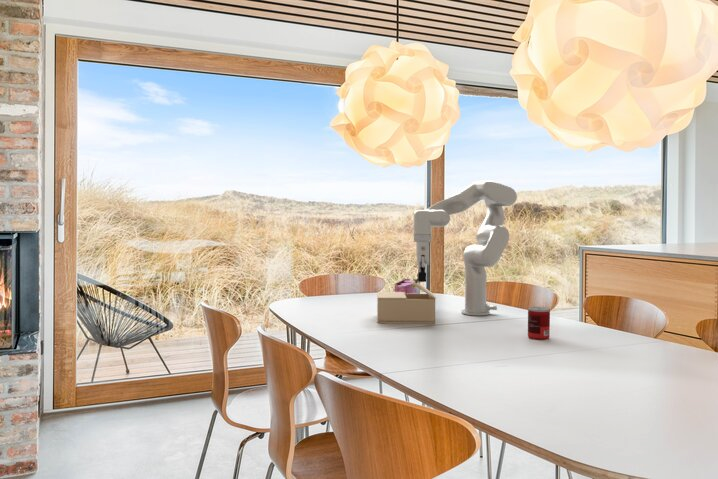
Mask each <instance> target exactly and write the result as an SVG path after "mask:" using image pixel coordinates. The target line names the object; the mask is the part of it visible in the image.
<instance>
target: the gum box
mask: <svg viewBox="0 0 718 479" xmlns="http://www.w3.org/2000/svg"><path fill="white" fill-rule="evenodd" d="M412 279H413V278H412ZM416 279H417V278H416ZM416 279H415V278H414V279H413V280H414V281H416ZM417 283H419V284H420V285H421V282H419V281H418V282H417ZM393 290H394V291H393V292H404V293H405V294H421V289H419V288H418V287H416V286H415V285H413V284H412V283H411V281H410V278H405V279H403V280H400V281H399V282H396V283H394V289H393Z"/></svg>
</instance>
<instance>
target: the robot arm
mask: <svg viewBox="0 0 718 479" xmlns="http://www.w3.org/2000/svg"><path fill="white" fill-rule="evenodd" d="M517 199H518V195H517V192H516V190H515V189H514V188H512V186H508V185H506V184H505V185H504V184H502V183H498V182H496V181H493V180H478V181H474V182H471V184H469V185H467V186H466V187H465V188H463V189H461V190H460V191H458V192H457V193H455V194H453V195H450V196H449V197H447V198H445V199H442V200H440V201H438V202H436V203H435V204H433V205H431V206H429V207H428V208H426V209H416V210H415V211H414V212H413V242H414V243H415V245H416V250H415V252H416V253H415V254H416V255H415V256H416V264H417V265H418V268H417V269H418V270H417V273H418V272H419V282H420V283H425V282H427V266H429V265H430V243H432V228H443V227H446V226H447V225H448V224H449V223H450V221H451V215H455V214H456V215H457V214H459V213H463V212H465V211H467V210H468V209H470V208H472V207H473V206H474V205H476V204H477V203H479V202H480V201H482V200H483V201H484V203H485V206H486V215H485V218H484V220H483V221H482V224H481V225H480V227H479V229H478V231H477V233H476V237H475V238H476V241H477V242H478V243H477V244H471V245H470V244H469V245H468V246H467V247H465V249H464V251H463V253H462V254H463V255H462V256H463V257H462V258H463V262H464V263H463V264H464V272H465V274H464V276H465V277H464V278H465V281H464V283H465V284H464V288H465V289H464V291H465V292H464V309H461V314H462V315H468V316H476V317H477V316H481V317H483V316H488V315H490V314H491V313H490V311H497V310H498V306H497V305H489V304H488V303H487V279H488V278H487V271H486V268H485V267H487V268H491V267H494V266H496V264H498V262H499V261H500V260H501V257H502V255H503V253H504V251H505V249H506V248H507V246H508V244H509V241H510V232H509V229H508V228H506V226H504V223H505V219H506V218H505V213H504V209H503V207H511V206H513V205H514V204H515V203H516V202H517Z"/></svg>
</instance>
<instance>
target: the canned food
mask: <svg viewBox="0 0 718 479" xmlns="http://www.w3.org/2000/svg"><path fill="white" fill-rule="evenodd" d="M550 316H551V309H550V308H549V307H546V306H530V307H528V309H527V337H528V339H530V340H534V339H535V340H534V341H547V340H549V339H550V330H551V329H550V327H551V325H550V322H551V317H550Z"/></svg>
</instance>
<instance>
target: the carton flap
mask: <svg viewBox="0 0 718 479" xmlns="http://www.w3.org/2000/svg"><path fill="white" fill-rule="evenodd" d="M416 277H417V278H416V281H414V280H413V278H411V277H410V278H409V279H410V281H411V283H412V284H413V285H415V286H416V287H418V288H419V289H420V291H422V292H423V293H424V294H428V295H430V296H431V297H433V298H434V299H435V300H436V295H434V293H433V292H431V290H429V289H427V288H426V287H424V286H423V285H422V284H421V283H420V284H419V283H417V282H418V281H419V272H418V271H417V273H416Z"/></svg>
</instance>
